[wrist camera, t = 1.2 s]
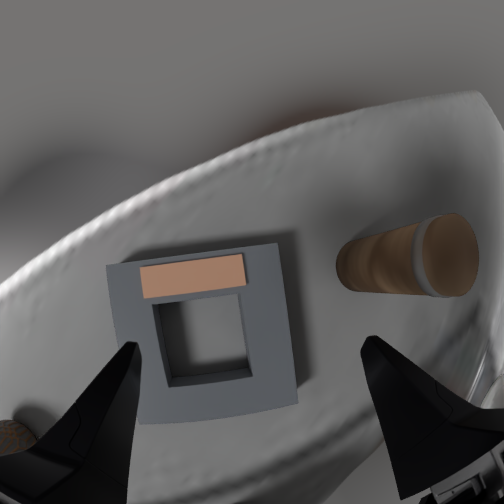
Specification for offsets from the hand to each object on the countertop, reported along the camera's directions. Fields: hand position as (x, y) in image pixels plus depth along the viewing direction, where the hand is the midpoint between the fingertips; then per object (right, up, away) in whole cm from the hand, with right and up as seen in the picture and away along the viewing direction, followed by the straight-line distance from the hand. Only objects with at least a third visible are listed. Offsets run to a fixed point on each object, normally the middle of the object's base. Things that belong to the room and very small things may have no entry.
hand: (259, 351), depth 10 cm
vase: (-28, -19, +8) cm, 35 cm away
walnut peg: (+10, +2, +16) cm, 19 cm away
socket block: (-4, -4, +13) cm, 14 cm away
